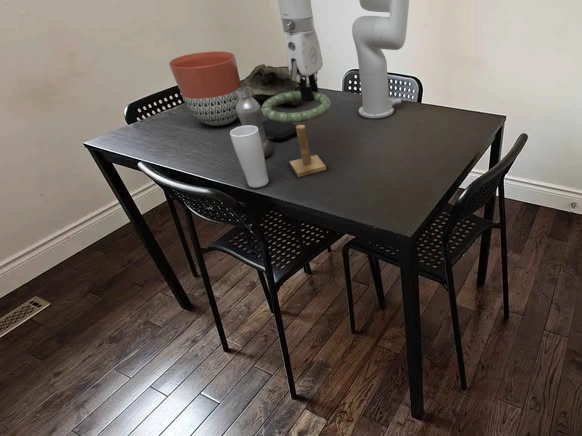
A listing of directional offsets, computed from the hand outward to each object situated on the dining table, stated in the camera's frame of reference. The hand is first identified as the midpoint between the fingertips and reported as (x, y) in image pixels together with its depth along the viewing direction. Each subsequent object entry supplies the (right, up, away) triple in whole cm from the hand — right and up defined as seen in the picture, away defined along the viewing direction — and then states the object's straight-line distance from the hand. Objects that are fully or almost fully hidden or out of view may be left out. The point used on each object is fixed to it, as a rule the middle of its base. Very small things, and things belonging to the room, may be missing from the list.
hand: (310, 98), depth 112 cm
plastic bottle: (-17, -14, +11) cm, 25 cm away
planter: (-39, +1, +33) cm, 51 cm away
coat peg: (-2, -18, +4) cm, 19 cm away
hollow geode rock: (-24, +12, +48) cm, 55 cm away
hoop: (-2, -4, -6) cm, 7 cm away
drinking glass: (-13, -23, -3) cm, 27 cm away
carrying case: (-17, -5, +24) cm, 30 cm away
